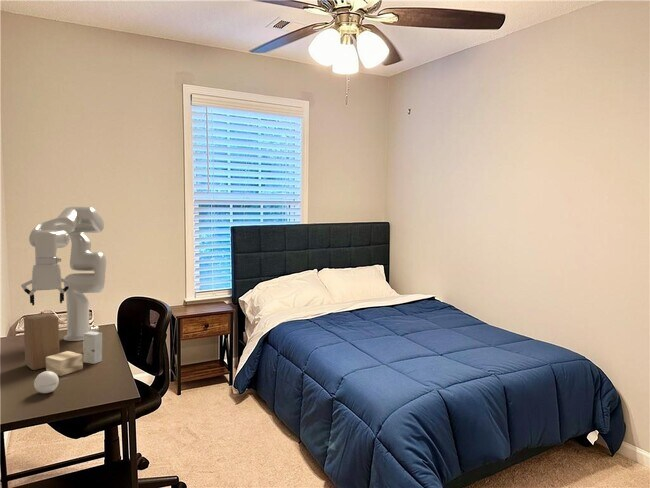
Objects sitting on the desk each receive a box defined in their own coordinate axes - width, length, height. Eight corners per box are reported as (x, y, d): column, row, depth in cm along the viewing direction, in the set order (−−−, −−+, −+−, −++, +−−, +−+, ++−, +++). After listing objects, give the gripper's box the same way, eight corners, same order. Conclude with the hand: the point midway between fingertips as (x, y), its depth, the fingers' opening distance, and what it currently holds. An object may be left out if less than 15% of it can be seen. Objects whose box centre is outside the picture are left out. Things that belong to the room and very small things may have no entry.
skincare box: (82, 362, 188) (82, 333, 187) (91, 359, 192) (90, 330, 191) (94, 364, 186) (94, 334, 185) (103, 360, 190) (102, 332, 189)
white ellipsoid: (32, 398, 152) (31, 376, 151) (36, 390, 158) (35, 369, 158) (66, 393, 156) (66, 372, 155) (69, 386, 162) (68, 366, 162)
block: (24, 365, 183) (23, 315, 182) (52, 359, 191) (51, 312, 189) (31, 371, 176) (30, 320, 175) (60, 365, 184) (59, 316, 182)
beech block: (68, 365, 184) (68, 350, 184) (82, 369, 180) (82, 354, 180) (46, 372, 176) (45, 357, 176) (60, 376, 172) (60, 360, 172)
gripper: (70, 260, 192) (71, 300, 193) (20, 261, 182) (22, 304, 183) (71, 261, 185) (72, 303, 186) (20, 263, 176) (21, 307, 177)
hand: (47, 303), depth 185 cm, fingers open, 9 cm apart
